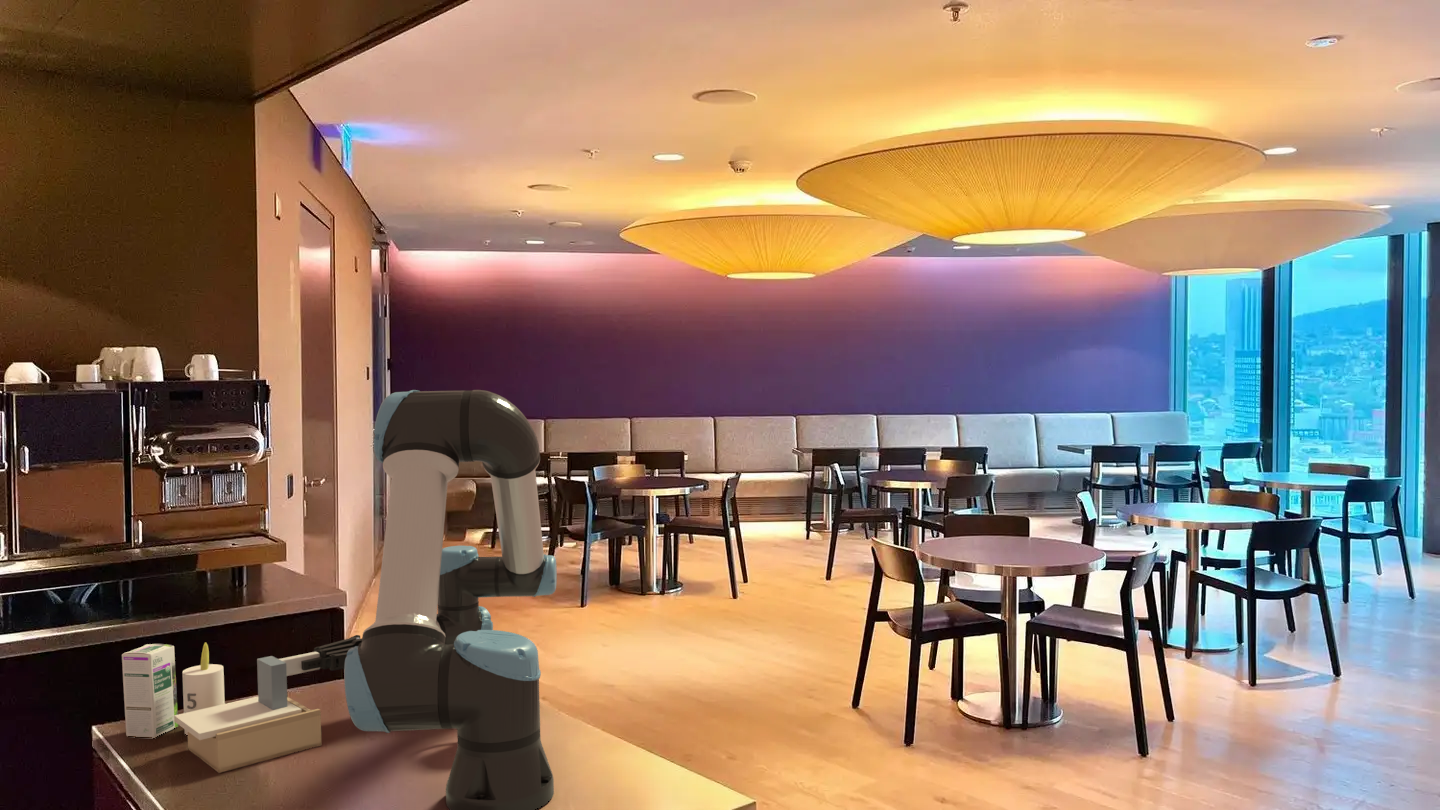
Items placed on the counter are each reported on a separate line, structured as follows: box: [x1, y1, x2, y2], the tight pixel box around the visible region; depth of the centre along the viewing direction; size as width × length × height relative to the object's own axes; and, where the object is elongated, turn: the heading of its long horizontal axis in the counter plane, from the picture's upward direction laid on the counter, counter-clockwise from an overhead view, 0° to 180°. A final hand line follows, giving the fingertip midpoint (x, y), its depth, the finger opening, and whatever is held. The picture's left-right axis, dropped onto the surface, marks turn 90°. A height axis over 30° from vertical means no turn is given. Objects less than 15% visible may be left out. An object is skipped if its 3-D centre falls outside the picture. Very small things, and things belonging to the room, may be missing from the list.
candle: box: [181, 642, 226, 736], centre depth 180 cm, size 6×6×15 cm
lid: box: [174, 655, 302, 740], centre depth 170 cm, size 16×12×8 cm
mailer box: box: [187, 691, 322, 774], centre depth 172 cm, size 16×14×6 cm
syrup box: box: [121, 643, 179, 739], centre depth 179 cm, size 6×6×14 cm
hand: (279, 668), depth 175 cm, fingers closed
